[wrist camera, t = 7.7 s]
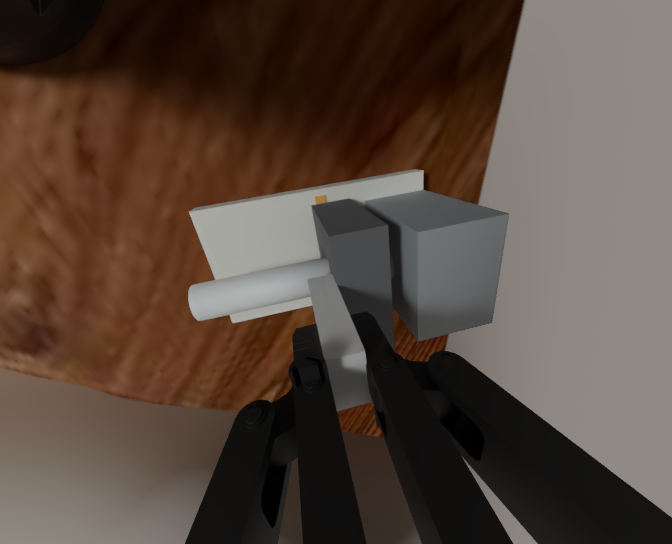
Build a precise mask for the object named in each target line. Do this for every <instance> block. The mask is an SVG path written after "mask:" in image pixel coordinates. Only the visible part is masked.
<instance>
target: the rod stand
mask: <svg viewBox="0 0 672 544" xmlns="http://www.w3.org/2000/svg"><path fill="white" fill-rule="evenodd" d="M423 173H424V170H417V169H413V170H407V171H402V172H396V173H390V174H385V175H379V176H373V177H368V178H362V179H356V180H350V181H345V182H339V183H333V184H328V185H322V186H316V187H311V188H305V189H299V190H293V191H288V192H282V193H276V194H271V195H265V196H259V197H254V198H248V199H242V200H237V201H231V202H225V203H219V204H214V205H208V206H202V207H197V208H194V209H192V210H191V211H190V212H189V213H190V216H191V219H192V221H193V224H194V226H195V229H196V231H197V234H198V236H199V239H200V241H201V244H202V246H203V249H204V252H205V254H206V257H207V259H208V262H209V264H210V267H211V269H212V272H213V274H214V277H215V280H213V281H209V282H204V283H199V284H194V285H192V286H191V287H190V289H189V293H188V300H189V306H190V309H191V312H192V314H193V316H194V317H195V318H196V319H197V320H198V321H203V320H208V319H212V318H217V317H221V316H225V315H230V318H231V320H232V323H236V322H241V321H245V320H250V319H254V318H258V317H263V316H267V315H272V314H276V313H280V312H285V311H289V310H294V309H298V308H302V307H307V306H311V305H312V300H311V296H310V291H309V286H308V281H307V279H311V278H315V277H320V276H325V275H329V274H330V269H329V263H328V260H327V258H326V257H324V258H321V257H320V251H319V246H318V240H317V235H316V229H315V224H314V218H313V213H312V207H311V205H316V204H321V203H327V202H332V201H338V200H343V199H349V198H350V199H351V200H353V201H354V202H356V203H357V204H359V205H360V206H361V207H363V208H364V209H366V210H367V211H369V212H370V213H372V214H373V215H374V216H376V217H377V218H379V219H380V220H382V221H383V222H385V223H386V224H387V225H388V232H389V251H390V270H391V289H392V306H393V308H394V309H395V311H396V312H397V313H398V315H399V316H400V317H401V319H402V320H403V322H404V323H405V324H406V326H407V327H408V329H409V330H410V331H411V333H412V334H413V336H414V337H415V338H416V340H417V341H422V340H426V339H430V338H434V337H438V336H442V335H446V334H450V333H453V332H457V331H461V330H465V329H469V328H473V327H477V326H481V325H485V324H489V323H492V319H493V313H494V306H495V300H496V294H497V287H498V280H499V275H500V268H501V262H502V256H503V249H504V242H505V236H506V230H507V222H508V217H509V214H508V213H505V212H501V211H498V210H494V209H490V208H487V207H483V206H480V205H476V204H473V203H469V202H465V201H462V200H458V199H455V198H451V197H447V196H444V195H440V194H437V193H433V192H429V191H426V190H423Z"/></svg>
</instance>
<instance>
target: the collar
mask: <svg viewBox="0 0 672 544" xmlns="http://www.w3.org/2000/svg"><path fill="white" fill-rule="evenodd" d="M311 207H312V213H313V218H314V224H315V229H316V235H317V240H318V246H319V251H320V257H321V258H324V257H326V258H327V260H328V263H329V269H330V274H332V275H333V277H334V280H335V282H336V284H337V286H338V289H339V291H340V293H341V296H342V298H343V300H344V303H345V305H346V307H347V310H348V312H349V314H350V315H353V314H357V313H361V312H365V311H367V312H368V313H370V314H371V315H373V316H374V317H375V319H376V321H377V323H378V324H379V326H380V328H381V330H382V331H383V333H384V335H385V337H386V338H387V340H388V342H389V344H390V345H391V347H392V348H394V347H395V346H394V327H393V308H392V289H391V270H390V251H389V232H388V225H387V224H386V223H385V222H383V221H382V220H380V219H379V218H377V217H376V216H374V215H373V214H372V213H370V212H369V211H367V210H366V209H364V208H363V207H361V206H360V205H359V204H357V203H356V202H354V201H353V200H351V199H350V198H349V199H343V200H338V201H332V202H327V203H321V204H316V205H311Z"/></svg>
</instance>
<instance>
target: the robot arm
mask: <svg viewBox="0 0 672 544" xmlns="http://www.w3.org/2000/svg"><path fill="white" fill-rule="evenodd" d="M103 2H104V0H0V64H3V65H16V64H27V63H33V62H38V61H42V60H45V59H48V58H51V57H54V56H56V55H58V54H60V53H62V52H64V51H65V50H67V49H68V48H70V47H71V46H73V45H74V44H75V43H76V42H78V41H79V40H80V39H81V38H82V37H83V36H84V35H85V33H86V32H87V31H88V30H89V28H90V27H91V26H92V24H93V23H94V21H95V19H96V18H97V16H98V14H99V12H100V9H101V7H102V4H103ZM307 281H308V286H309V291H310V296H311V300H312V305H313V310H314V314H315V319H316V324H313V325H309V326H305V327H300V328H296V330H295V332H294V334H293V336H292V338H293V351H294V361H293V362H292V364H291V365H290V367H289V376H290V379H291V382H292V386H293V387H292V388H291V390H290V391H289V392H288V393H287V394H286V395H284V396H283V397H281V398H280V399H278V400H276V401H275V402H273V403H270V402H269V401H268V400H257V401H253V402H251V403H249V404H247V405H246V406H245V407H244V408H243V409H242V410H241V411H240V412H239V413H238V415H237V417H236V419H235V421H234V424H233V426H232V428H231V431H230V433H229V436H228V438H227V441H226V443H225V446H224V448H223V451H222V453H221V456H220V458H219V460H218V463H217V465H216V468H215V470H214V473H213V476H212V478H211V480H210V483H209V485H208V488H207V490H206V493H205V496H204V498H203V500H202V503H201V505H200V508H199V510H198V513H197V515H196V517H195V520H194V522H193V525H192V527H191V530H190V532H189V535H188V537H187V540H186V542H185V544H278V540H279V534H280V528H281V522H282V517H283V511H284V505H285V499H286V494H287V488H288V482H289V476H290V470H291V465H292V461H293V460H294V459H296V458H297V457H298V469H299V485H300V501H301V518H302V534H303V544H366V540H365V535H364V530H363V526H362V522H361V518H360V513H359V508H358V504H357V499H356V495H355V490H354V486H353V481H352V477H351V472H350V468H349V464H348V459H347V454H346V450H345V445H344V441H343V437H342V432H341V427H340V423H339V418H338V414H337V411H340V410H344V409H347V408H351V407H355V406H358V405H362V404H366V403H369V402H371V398H372V401H373V403H374V408H375V417H376V425H377V427H380V429H381V432H382V434H383V437H384V440H385V443H386V445H387V448H388V451H389V454H390V456H391V459H392V462H393V465H394V467H395V470H396V473H397V476H398V479H399V482H400V484H401V487H402V490H403V493H404V495H405V498H406V501H407V504H408V506H409V509H410V512H411V515H412V518H413V520H414V523H415V526H416V529H417V531H418V534H419V537H420V540H421V543H422V544H513V542H512V541H511V539H510V537H509V536H508V534H507V532H506V531H505V529H504V528H503V526H502V524H501V522H500V521H499V519H498V517H497V515H496V514H495V512H494V510H493V509H492V507H491V505H490V504H489V502H488V500H487V499H486V497H485V495H484V493H483V492H482V490H481V489H480V487H479V485H478V483H477V482H476V480H475V478H474V477H473V475H472V473H471V472H470V470H469V468H468V467H467V465H466V463H465V461H464V460H463V458H464V459H465V460H466V461H467V462H468V464H469V465H470V466H471V467H472V468H473V469H474V471H475V472H476V473H477V474H478V475H479V476H480V478H481V479H482V480H483V481H484V482H485V483H486V484H487V486H488V487H489V488H490V489H491V490H492V491H493V492H494V494H495V495H496V496H497V497H498V498H499V499H500V501H501V502H502V503H503V504H504V505H505V506H506V507H507V509H508V510H509V511H510V512H511V513H512V514H513V516H514V517H515V518H516V519H517V520H518V521H519V522H520V524H521V525H522V526H523V527H524V528H525V529H526V530H527V532H528V533H529V534H530V535H531V536H532V537H533V539H534V540H535V541H536V542H537V543H538V544H672V518H671V517H670V516H669V515H667V514H666V513H665V512H663V511H662V510H661V509H660V508H658V507H657V506H656V505H654V504H653V503H652V502H650V501H649V500H648V499H647V498H645V497H644V496H643V495H641V494H640V493H639V492H637V491H636V490H635V489H633V488H632V487H631V486H630V485H628V484H627V483H626V482H624V481H623V480H622V479H620V478H619V477H618V476H616V475H615V474H613V472H611V471H610V470H609V469H607V468H606V467H605V466H603V465H602V464H601V463H599V462H598V461H597V460H596V459H594V458H593V457H592V456H590V455H589V454H588V453H586V452H585V451H584V450H582V449H581V448H580V447H579V446H577V445H576V444H575V443H573V442H572V441H571V440H569V439H568V438H567V437H565V436H564V435H563V434H562V433H560V432H559V431H558V430H556V429H555V428H554V427H552V426H551V425H550V424H548V423H547V422H546V421H544V420H543V419H542V418H541V417H539V416H538V415H537V414H535V413H534V412H533V411H532V410H530V409H529V408H527V407H526V406H525V405H524V404H522V403H521V402H520V401H518V400H517V399H516V398H514V397H513V396H512V395H511V394H509V393H508V392H507V391H505V390H504V389H503V388H501V387H500V386H499V385H498V384H496V383H495V382H494V381H492V380H491V379H490V378H488V377H487V376H486V375H484V374H483V373H482V372H480V371H479V370H478V369H477V368H475V367H474V366H473V365H471V364H470V363H469V362H467V361H466V360H465V359H464V358H462V357H461V356H459V355H457V354H455V353H452V352H448V351H439V352H436V353H434V354H432V355H431V356H430V357H429V360H428V362H420V361H409V360H405V359H403V358H402V357H401V356H400V355H399V354H397V353H395V352H394V351H393V349H392V347H391V345H390V344H389V342H388V340H387V338H386V337H385V335H384V333H383V331H382V330H381V328H380V326H379V324H378V323H377V321H376V319H375V317H374V316H373V315H371V314H370V313H368V312H367V311H365V312H361V313H357V314H353V315H350V314H349V312H348V310H347V307H346V305H345V303H344V300H343V298H342V296H341V293H340V291H339V289H338V286H337V284H336V282H335V280H334V277H333V275H332V274H329V275H325V276H320V277H315V278H311V279H307ZM370 395H371V396H370ZM462 457H463V458H462Z"/></svg>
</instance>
